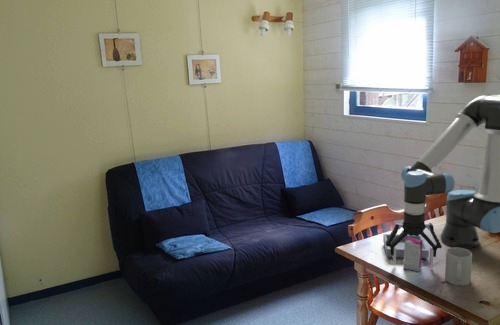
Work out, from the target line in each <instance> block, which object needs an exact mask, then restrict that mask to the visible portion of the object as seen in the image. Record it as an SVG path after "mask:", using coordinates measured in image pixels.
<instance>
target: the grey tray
mask: <svg viewBox="0 0 500 325" xmlns="http://www.w3.org/2000/svg"><path fill="white" fill-rule="evenodd" d="M390 234H391V233H383V238H382V240H383V244H384V245H383V246H384V250H385V254H386V257H387V258H388V260H393V255H391V253H390V247H389V246H386V241H387V239H388V237H389V236H390ZM399 235H400V234H399V233H397V234H396V235H395V237H394V239H393V240H392V242H393V241H394V240H395V239H396V238H397V237H398V236H399ZM407 238H414V239H420V240H423V243H422V259H421V261H424V262H425V261H427V259H430V249H429V248H428V246H427V242H426V240H425V239H424V238H423V237H422V236H421V235H418V236H415V235H413V236H410V235H407V236H406V237H404V238H403V239H402V240H401V241H400V242H399V243H398V244H397V245H396V258H404V248H405V241H406V240H407ZM392 242H391V243H392Z"/></svg>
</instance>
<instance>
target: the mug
mask: <svg viewBox="0 0 500 325" xmlns="http://www.w3.org/2000/svg"><path fill="white" fill-rule="evenodd" d="M472 263H473V253H472V252H471V251H470V250H469V249H468V248H460V247H454V246H453V247H450V248H447V249H446V253H445V272H444V279H445V280H446V282H448V283H449V284H452V285H456V286H468V285H470V284H471V282H472V267H473V265H472Z"/></svg>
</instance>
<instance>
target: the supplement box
mask: <svg viewBox="0 0 500 325" xmlns="http://www.w3.org/2000/svg"><path fill="white" fill-rule="evenodd" d="M422 243H423V240H420V239H414V238H407V240H406V241H405V248H404V257H403V270H404V271H409V272H415V273H419V271H420V269H421V267H422V260H421V259H422Z"/></svg>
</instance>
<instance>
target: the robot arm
mask: <svg viewBox="0 0 500 325" xmlns="http://www.w3.org/2000/svg"><path fill="white" fill-rule="evenodd" d="M482 124H485V125H484V130H485V131H486V132H487V140H486V145H485V152H484V157H483V163H482V164H483V165H482V169H481V170H482V171H481V177H480V183H479V188H478V189H479V190H478V192H477V190H472V189H471V190H470V189H457V190H454V189H455V184H456V182H455V179H454V177H453V176H452V175H451V174H450V173H446V172H445V173H444V172H441V173H435V171H436V170H437V168H438V167H439V166H440V165H441V164H442V163H443V162H444V161H445V160H446V158H448V156H449V155H450V154H451V153H452V152H453V151H454V150H455V148H456V147H457V146H458V145H459V144H460V143H461V142H462V141H463V140H464V139H465V137H466V136H467V135H468V134H469V133H471V131H475V130H476V129H477V128H478V127H479V126H481V125H482ZM400 176H401V177H400V178H401V180H402V181H403V182H404V183H403V186H404V189H403V192H404V193H403V196H404V197H403V222H402V223H398V222H397V221H396V222H394V226H393V228H392V231H391V232H390V233H389V234H390V236H389V237H388V239H387V241H386V246H389V247H390V253H391V255H393V259H392V262H393V264H394V265H396V264H397V257H396V245H397V244H398V243H399V242H400V241H401V240H402V239H403V238H404V237H406V236H407V235H410V236H413V235H415V236H418V235H421V236H422V237H423V239H424V241H425V242H426V243H428V245H430V247H429V259H428V260H429V265H430V266H434V258H436V257H437V250H438V249H442V248H443V246H442V244H441V242H442V243H443V244H445V245H448V246H450V247H453V248H454V247H456V248H463V249H469V248H475V247H477V246H478V245H479V244H480V237H479V234H478V231H477V228H478V229H480V230H481V231H484V232H488V233H490V234H491V233H492V234H496V233H500V94H489V93H488V94H483V95H480V96H477V97H475V98H473V99H471V101H469V102H468V103H467V104H465V105H464V106H462V108H460V110H459V111H458V112H457V113H456V114H455V118H454V120H453V121H452V122H451V123H450V124H449V126H447V127H446V129H444V131H443V132H442V133H441V134H440V135H439V137H437V139H436V140H435V141H434V142H433V143H432V144H431V145H430V147H428V149H427V150H426V151H425V152H424V153H423V154H422V155H421V157H420V158H419V159H418V160H417V161H416V162H415V163H414V164H413V165H407V166H405V167H403V169H402V170H401V173H400ZM445 194H447V196H446V197H447V198H446V208H445V210H446V211H445V212H446V214H445V224H444V226H443V229H442V232H441V234H440V239H438V237H437V235H436V233H435V230H434V225H433V223H431V222H430V223H428V224H425V223H426V222H425V217H426V214H425V212H426V199H427V198H426V197H427V196H434V195H445ZM401 228H402V231H401V232H400V234H399V236H398V237H397V238H396V239H395V240H394V241H393V242H392V240H393V239H394V237H395V235H396V234H398V232H399V230H400V229H401ZM425 229H426V230H428V231H429V232H430V234H431V236H432V238H433V239H434V241H432V239H431V238H429V237H428V235H427V234H426V232H424V231H425ZM440 241H441V242H440ZM391 242H392V243H391ZM434 242H435V243H434Z"/></svg>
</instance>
